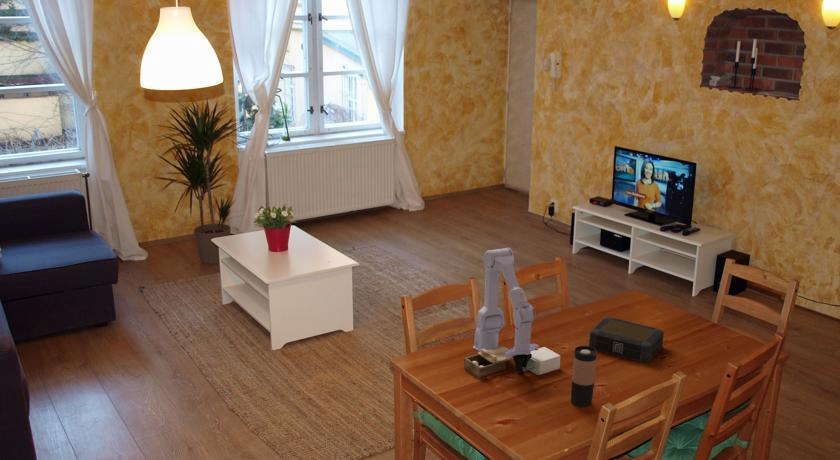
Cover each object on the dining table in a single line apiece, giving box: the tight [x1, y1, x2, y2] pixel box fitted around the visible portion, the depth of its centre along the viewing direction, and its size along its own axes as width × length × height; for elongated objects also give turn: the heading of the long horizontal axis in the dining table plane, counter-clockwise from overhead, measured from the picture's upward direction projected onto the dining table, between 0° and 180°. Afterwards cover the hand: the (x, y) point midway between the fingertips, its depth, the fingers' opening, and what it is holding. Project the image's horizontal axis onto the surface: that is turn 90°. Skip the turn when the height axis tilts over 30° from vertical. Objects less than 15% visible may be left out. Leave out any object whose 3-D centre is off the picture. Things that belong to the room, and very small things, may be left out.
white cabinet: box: [531, 346, 561, 375], centre depth 308 cm, size 9×10×6 cm
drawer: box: [522, 358, 540, 376], centre depth 307 cm, size 9×15×6 cm, turn 123°
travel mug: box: [570, 345, 598, 409], centre depth 283 cm, size 8×8×20 cm
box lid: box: [477, 345, 514, 364], centre depth 309 cm, size 10×12×2 cm
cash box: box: [588, 316, 665, 364], centre depth 329 cm, size 25×20×8 cm
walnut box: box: [463, 353, 507, 379], centre depth 307 cm, size 10×12×5 cm
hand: (520, 371), depth 303 cm, fingers closed, pressing on drawer
